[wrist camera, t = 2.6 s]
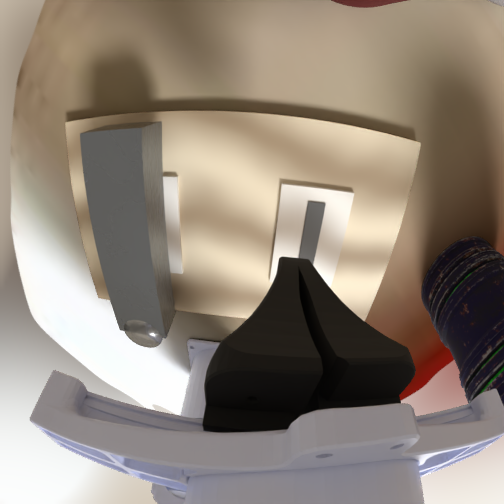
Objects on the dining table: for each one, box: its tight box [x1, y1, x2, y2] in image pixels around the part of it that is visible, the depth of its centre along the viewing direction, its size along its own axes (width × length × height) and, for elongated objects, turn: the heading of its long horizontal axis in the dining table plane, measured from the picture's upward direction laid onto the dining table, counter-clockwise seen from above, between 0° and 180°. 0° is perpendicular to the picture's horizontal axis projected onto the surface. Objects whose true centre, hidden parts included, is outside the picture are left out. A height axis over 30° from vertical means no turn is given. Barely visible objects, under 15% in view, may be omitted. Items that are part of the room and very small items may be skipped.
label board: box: [65, 110, 421, 321], centre depth 21 cm, size 17×26×1 cm, turn 86°
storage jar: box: [421, 236, 504, 406], centre depth 16 cm, size 10×10×15 cm
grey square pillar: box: [80, 121, 175, 348], centre depth 18 cm, size 17×4×4 cm, turn 176°
